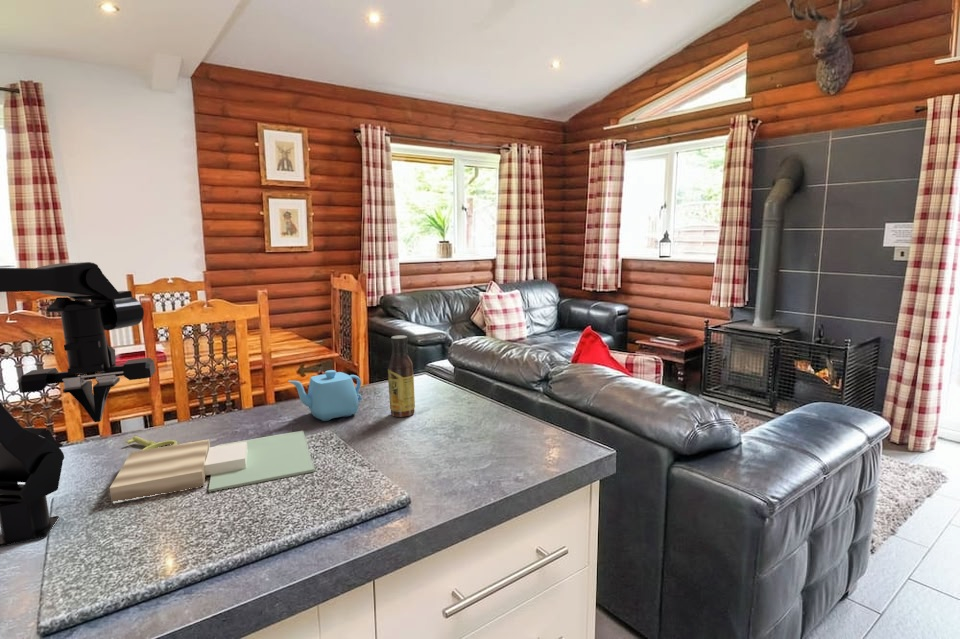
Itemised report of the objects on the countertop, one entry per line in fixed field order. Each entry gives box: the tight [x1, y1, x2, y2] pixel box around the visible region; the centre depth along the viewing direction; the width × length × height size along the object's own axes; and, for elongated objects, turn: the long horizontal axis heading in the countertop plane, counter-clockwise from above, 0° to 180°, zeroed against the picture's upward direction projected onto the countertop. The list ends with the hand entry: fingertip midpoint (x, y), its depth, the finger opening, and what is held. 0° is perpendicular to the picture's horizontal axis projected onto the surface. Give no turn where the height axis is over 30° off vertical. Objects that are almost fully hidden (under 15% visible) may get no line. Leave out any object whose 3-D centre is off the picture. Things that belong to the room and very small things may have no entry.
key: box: [125, 435, 178, 450], centre depth 116 cm, size 7×12×2 cm, turn 79°
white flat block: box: [204, 441, 248, 476], centre depth 105 cm, size 10×7×2 cm
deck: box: [109, 438, 211, 503], centre depth 101 cm, size 18×14×3 cm
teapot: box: [287, 369, 363, 422], centre depth 133 cm, size 12×18×12 cm
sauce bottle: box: [387, 334, 416, 418], centre depth 131 cm, size 7×6×20 cm
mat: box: [208, 430, 315, 493], centre depth 108 cm, size 24×18×1 cm
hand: (98, 421), depth 94 cm, fingers closed
